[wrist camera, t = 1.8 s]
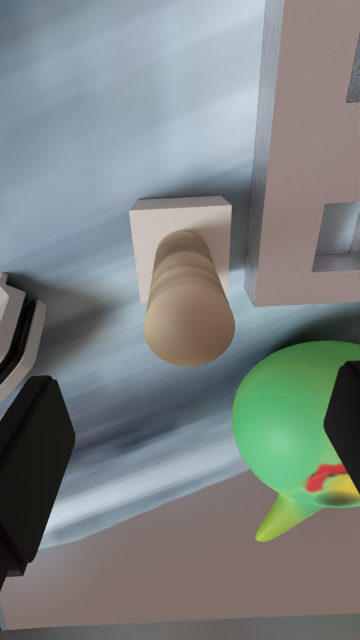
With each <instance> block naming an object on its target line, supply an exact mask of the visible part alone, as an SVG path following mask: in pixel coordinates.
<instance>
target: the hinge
mask: <svg viewBox="0 0 360 640" xmlns="http://www.w3.org/2000/svg"><path fill="white" fill-rule="evenodd" d="M7 277H8V275H7V274H5V273H3V272H2V273H1V274H0V403H1V402H2V401H3V400H4V399H5V398H6V397H7V396H8V395H9V394H10V393H11V392H12V391H13V390H14V389H15V387H16V386H17V385H18V384H19V383H20V382H21V381H22V379H23V378H24V377H25V376H26V375H27V373H28V372H29V371H30V370H31V368H32V367H33V365H34V363H35V361H36V357H37V352H38V348H39V343H40V339H41V334H42V330H43V325H44V321H45V316H46V312H47V307H46V305H45V304H44V303H43V302H41V301H40V300H39V299H38V300H37V301H36V302H34V301H32V302H30V303H29V304H28V305H27V306H26V303H27V300H28V298H26V297H25V294H26V292H24V291H21V290H19V289H16V288H13V287H11V286H8V285H6V281H7Z"/></svg>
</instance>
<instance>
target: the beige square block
mask: <svg viewBox="0 0 360 640" xmlns="http://www.w3.org/2000/svg"><path fill="white" fill-rule="evenodd" d="M231 212H232V205H231V204H230V203H229V202H228V201H227V200H225V199H224V198H223V197H222V196H221V195H220V196H201V197H182V198H163V199H144V200H136V202H135V203H134V204H133V206H132V207H131V209H130V210H129V215H130V222H131V230H132V238H133V245H134V253H135V261H136V269H137V276H138V284H139V292H140V300H141V302H148V299H149V292H150V286H151V280H152V274H153V267H154V261H155V255H156V250H157V247H158V245H159V243H160V242H161V240H162V239H163V238H164V237H165V236H167V235H168V234H170V233H172V232H175V231H181V230H185V231H190V232H193V233H195V234H197V235H199V236H200V237H201V238H202V239H203V240H204V241H205V243H206V245H207V247H208V249H209V252H210V255H211V257H212V260H213V263H214V266H215V268H216V271H217V274H218V276H219V279H220V282H221V284H222V287H223V290H224V292H225V295H226V298H228V279H229V257H230V235H231Z"/></svg>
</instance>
